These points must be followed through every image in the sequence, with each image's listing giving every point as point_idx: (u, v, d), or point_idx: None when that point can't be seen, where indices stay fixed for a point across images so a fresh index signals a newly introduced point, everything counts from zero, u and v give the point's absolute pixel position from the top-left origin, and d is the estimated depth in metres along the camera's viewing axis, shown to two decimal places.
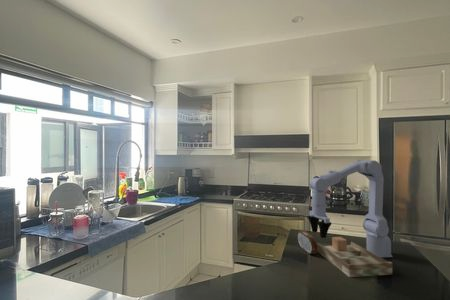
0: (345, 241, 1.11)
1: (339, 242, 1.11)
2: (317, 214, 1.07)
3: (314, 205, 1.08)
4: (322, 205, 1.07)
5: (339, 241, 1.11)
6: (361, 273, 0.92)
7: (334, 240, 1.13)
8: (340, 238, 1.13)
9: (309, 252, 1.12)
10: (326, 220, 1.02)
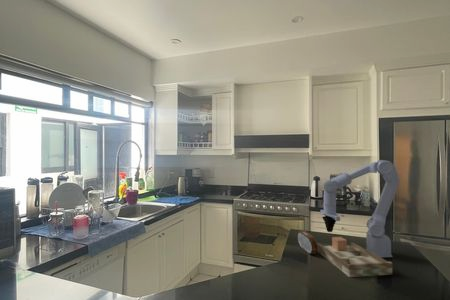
0: (345, 241, 1.11)
1: (339, 242, 1.11)
2: (328, 213, 1.19)
3: (325, 205, 1.20)
4: (333, 205, 1.18)
5: (339, 241, 1.11)
6: (361, 273, 0.92)
7: (334, 240, 1.13)
8: (340, 238, 1.13)
9: (309, 252, 1.12)
10: (337, 218, 1.14)
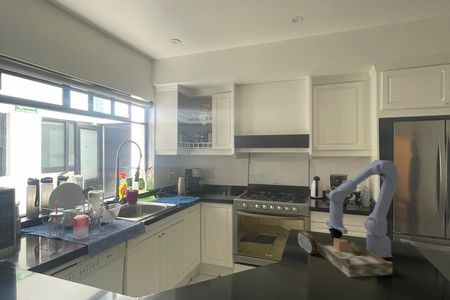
0: (347, 242, 1.10)
1: (341, 243, 1.09)
2: (335, 225, 1.13)
3: (332, 216, 1.14)
4: (340, 216, 1.13)
5: (341, 242, 1.09)
6: (361, 273, 0.92)
7: (336, 241, 1.12)
8: (342, 239, 1.12)
9: (309, 252, 1.12)
10: (344, 231, 1.08)
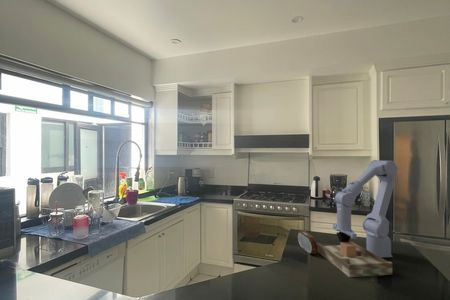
0: (355, 247, 1.04)
1: (348, 248, 1.04)
2: (343, 229, 1.07)
3: (340, 220, 1.08)
4: (348, 220, 1.07)
5: (349, 247, 1.04)
6: (361, 273, 0.92)
7: (343, 245, 1.06)
8: (349, 243, 1.06)
9: (309, 252, 1.12)
10: (353, 235, 1.02)
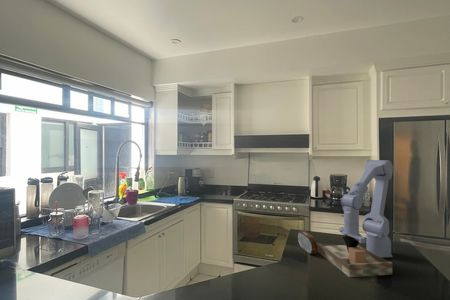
0: (364, 252, 0.98)
1: (357, 253, 0.98)
2: (350, 233, 1.02)
3: (347, 223, 1.03)
4: (356, 223, 1.02)
5: (357, 252, 0.98)
6: (361, 273, 0.92)
7: (351, 251, 1.00)
8: (358, 249, 1.01)
9: (309, 252, 1.12)
10: (361, 240, 0.97)
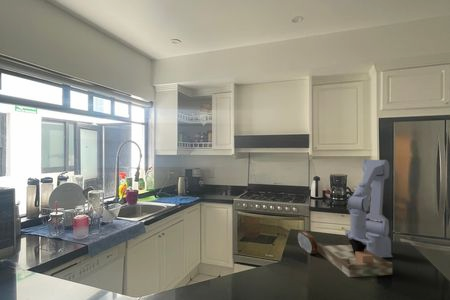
0: (372, 257, 0.94)
1: (365, 258, 0.94)
2: (357, 236, 0.98)
3: (353, 226, 0.99)
4: (363, 226, 0.97)
5: (365, 257, 0.94)
6: (361, 273, 0.92)
7: (358, 255, 0.96)
8: (365, 253, 0.96)
9: (309, 252, 1.12)
10: (369, 244, 0.93)
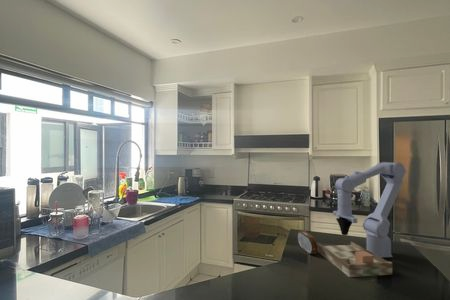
0: (372, 257, 0.94)
1: (365, 258, 0.94)
2: (343, 214, 1.08)
3: (340, 205, 1.09)
4: (348, 205, 1.08)
5: (365, 257, 0.94)
6: (361, 273, 0.92)
7: (358, 255, 0.96)
8: (365, 253, 0.96)
9: (309, 252, 1.12)
10: (354, 220, 1.03)
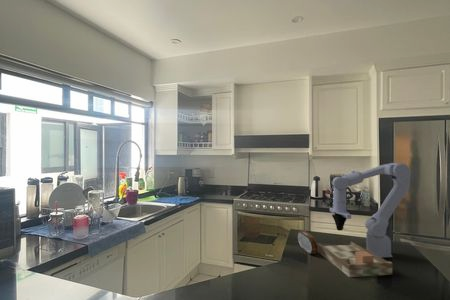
0: (372, 257, 0.94)
1: (365, 258, 0.94)
2: (338, 210, 1.15)
3: (335, 202, 1.16)
4: (343, 202, 1.14)
5: (365, 257, 0.94)
6: (361, 273, 0.92)
7: (358, 255, 0.96)
8: (365, 253, 0.96)
9: (309, 252, 1.12)
10: (348, 216, 1.10)
